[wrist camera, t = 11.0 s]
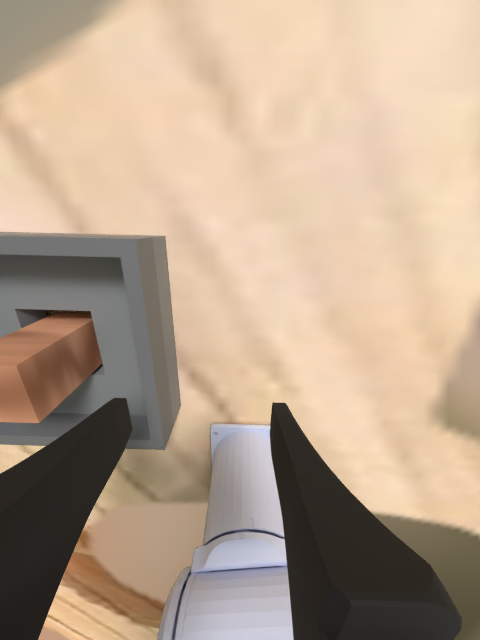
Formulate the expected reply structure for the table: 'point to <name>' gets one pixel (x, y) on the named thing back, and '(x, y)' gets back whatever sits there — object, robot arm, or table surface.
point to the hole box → (98, 325)
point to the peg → (45, 365)
